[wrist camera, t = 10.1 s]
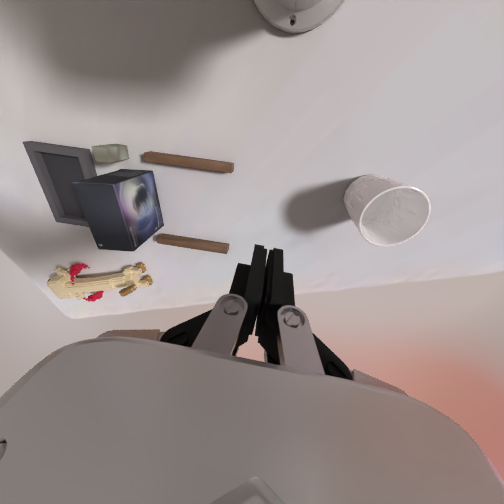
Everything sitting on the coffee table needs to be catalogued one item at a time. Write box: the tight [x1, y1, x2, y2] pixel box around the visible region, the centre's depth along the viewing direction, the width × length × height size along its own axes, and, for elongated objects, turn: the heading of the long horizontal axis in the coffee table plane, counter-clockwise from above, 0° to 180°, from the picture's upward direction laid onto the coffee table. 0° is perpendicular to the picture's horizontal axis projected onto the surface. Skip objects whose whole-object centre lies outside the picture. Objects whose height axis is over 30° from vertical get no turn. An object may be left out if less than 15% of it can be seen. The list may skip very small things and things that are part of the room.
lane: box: [92, 144, 234, 254], centre depth 36 cm, size 17×20×5 cm
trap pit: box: [23, 141, 97, 227], centre depth 38 cm, size 14×10×2 cm
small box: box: [72, 169, 164, 251], centre depth 34 cm, size 11×6×10 cm, turn 179°
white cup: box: [344, 174, 431, 246], centre depth 30 cm, size 8×8×10 cm
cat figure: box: [47, 263, 153, 302], centre depth 47 cm, size 10×9×25 cm
